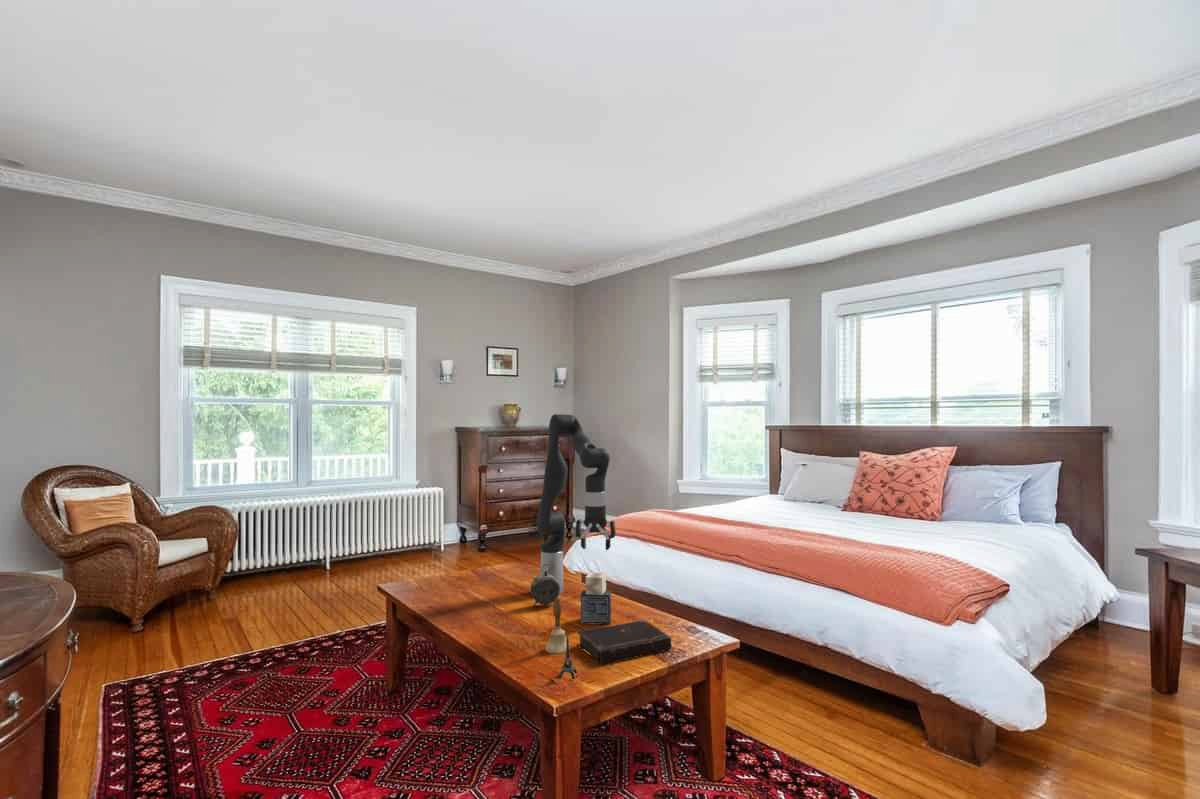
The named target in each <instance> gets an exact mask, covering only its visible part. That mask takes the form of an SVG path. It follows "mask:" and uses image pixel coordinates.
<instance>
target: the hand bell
mask: <svg viewBox="0 0 1200 799" xmlns="http://www.w3.org/2000/svg"><path fill="white" fill-rule="evenodd" d="M561 604H562V603H561V601H560V598H559V597H557V598H555V601H554V602H553V605H552V608H553V609H552V612H553V615H554V629H553V630H552V631H551V632H550V638H549V642H548V643H547V645H546V646H545V648H544V650H545V651H546V652H547V653H550V654H556V655H558V654H559V655H560V654H566V645H567V637H566V636H567V635H566V631H565V630H564V629H562V628H561V615H562V605H561ZM571 649H572V646H571V644H570V643H569V652H571Z"/></svg>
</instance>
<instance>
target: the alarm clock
mask: <svg viewBox="0 0 1200 799" xmlns="http://www.w3.org/2000/svg"><path fill="white" fill-rule="evenodd" d="M544 565H548V564H544ZM544 565H543V566H544ZM543 566H542V568H543ZM548 566H549V565H548ZM542 568H541V567H540V570H541V569H542ZM549 570H550V566H549ZM549 570H548V571H549ZM548 571H545V572H544V573H545V574H541V575H540V574H539V575H537V576H536V577H535V578H534V579H533V580H532V582H531V585H530V594H531V596H532V598H533V599H534V600H535V603H534V604H533V605H532V606H533V607H536V605H537V604H540V605H543V606H545V608H546V609H547V608H548V605H550V604H552V603H554V601H555V598H559V595H560V594H559V593H560V585H559V583H558V581H557V580H556V579H555V577H553V576H552V575H550V574H547V572H548ZM542 572H543V570H542Z"/></svg>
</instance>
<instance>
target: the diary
mask: <svg viewBox="0 0 1200 799" xmlns="http://www.w3.org/2000/svg"><path fill="white" fill-rule="evenodd" d="M576 633H577V635H579V643H578V644H576V645H577V646H576V647H578V648H579V646H580V648H581V649H585V650H586V651H588V652H589V653H590V654H591V655H590V656H592V655H593V656H594V657H593V656H592V657H593V658H595V659H596V660H597V661H598V660H599V665H600V666H602V665H601V664H603V665H606V664H605V663H607V664H610V663H609V662H611V663H614V662H613V661H616V662H618V661H617V660H620V661H622V660H621V659H625V658H630V657H635V656H639V657H641V656H640V655H643V656H647V655H646V654H648V655H651V654H650V653H652V654H655V653H654V652H657V651H662V650H666V651H668V650H667V649H671V650H672V638H671V635H668V634H667V633H665V632H664V631H662V630H660V628H658V627H657V626H655V625H653V624H652V623H650V622H648V621H646V620H644V619H643V620H636V621H632V622H626V623H621V624H615V625H606V626H598V627H591V628H586V629H582V630H576ZM580 648H579V649H580ZM581 649H580V650H581ZM662 652H663V651H662ZM657 653H658V652H657ZM635 658H636V657H635ZM630 659H631V658H630ZM625 660H626V659H625Z"/></svg>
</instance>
